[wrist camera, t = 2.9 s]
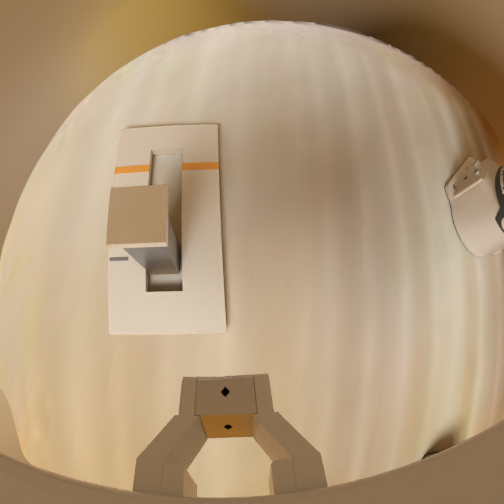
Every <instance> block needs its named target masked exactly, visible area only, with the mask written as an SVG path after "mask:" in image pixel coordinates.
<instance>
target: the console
mask: <svg viewBox="0 0 504 504" xmlns="http://www.w3.org/2000/svg"><path fill="white" fill-rule="evenodd" d="M169 154H183V159H182V203H181V239H182V283H183V291H165V292H148V271H147V270H146V269H145V268H143V267H142V266H141V265H140V264H139V263H138V262H137V261H136V260H135V259H134V258H133V257H132V256H131V255H129V254H128V253H127V252H126V251H125V250H124V249H123V248H116V249H111V248H110V247H109V253H108V318H109V335H174V334H204V333H224V332H227V328H226V313H225V296H224V279H223V260H222V239H221V216H220V189H219V155H218V124H196V125H169V126H153V127H140V128H128V129H122V130H121V136H120V142H119V148H118V155H117V162H116V167H115V177H114V186H113V188H116V187H129V186H145V185H150V184H151V170H152V158H153V155H169Z"/></svg>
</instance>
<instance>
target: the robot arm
mask: <svg viewBox="0 0 504 504" xmlns="http://www.w3.org/2000/svg"><path fill="white" fill-rule="evenodd" d="M445 190H446V193H447V196H448V198H449V201H450V204H451V209H452V216H453V220H454V224H455V227H456V230H457V232H458V234H459V236H460V238H461V240H462V242H463V243H464V245H465V246H466V247H467V249H468V250H469V251H470V252H471V253H473V254H474V255H476V256H478V257H485V256H487V255H489V254H494V255H498V254H500V253H501V252H502V249H503V248H504V166H501V165H499V164H498V163H497V162H495V161H494V160H492V159H486V160H484V161H482V162H480V161H479V160H476V159H474V158H472V157H469V158H467V159H466V160H465V162H464V163H463V164H462V165H461V167H460V168H459V169H458V171H457V172H456V173H455V174H454V176H453V177H452V178H451V179H450V181H449V182H448V183H447V184H446V186H445ZM228 437H254V439H255V440H256V441H257V443H258V444H259V445H260V446H261V448H262V449H263V450H264V451H265V453H266V454H267V455H268V456H269V457H270V459H271V460H272V461H273V463H272V464H271V469H270V477H269V491H270V495H267V496H253V497H230V498H205V497H197V485H196V483H195V482H194V481H193V479H192V478H191V476H190V475H189V473H188V472H187V469H188V467H189V466H190V464H191V463H192V461H193V460H194V458H195V457H196V456H197V454H198V453H199V451H200V450H201V448H202V447H203V445H204V444H205V442H206V441H207V438H228ZM0 504H504V419H503V420H501V421H500V422H498V423H496V424H495V425H493V426H491V427H489V428H488V429H486V430H484V431H482V432H480V433H478V434H477V435H475V436H473V437H471V438H469V439H467V440H465V441H463V442H461V443H459V444H457V445H455V446H452V447H450V448H448V449H446V450H444V451H441V452H439V453H437V454H434V455H432V456H429V457H427V458H424V459H422V460H419V461H417V462H414V463H411V464H409V465H406V466H403V467H400V468H397V469H394V470H391V471H388V472H385V473H381V474H378V475H375V476H371V477H367V478H364V479H360V480H356V481H352V482H348V483H343V484H339V485H334V486H329V487H328V486H327V481H326V476H325V472H324V467H323V463H322V458H321V453H319V452H318V451H317V450H316V449H315V448H314V447H313V446H312V445H311V444H310V443H309V442H308V441H307V440H306V439H305V438H304V437H303V436H302V435H301V434H300V433H299V432H297V431H296V430H295V429H294V428H293V427H292V426H291V425H290V424H289V423H288V422H287V421H286V420H285V419H284V418H283V417H282V416H281V415H280V414H279V412H274V410H273V403H272V396H271V389H270V381H269V376H268V374H257V375H253V374H252V375H238V376H225V377H183V380H182V386H181V396H180V407H179V415H175V416H174V417H173V418H172V419H171V420H170V421H169V423H168V424H167V425H166V426H165V427H164V428H163V429H162V431H161V432H160V433H159V434H158V435H157V436H156V437H155V438H154V440H153V441H152V442H151V443H150V444H149V445H148V446H147V447H146V449H145V450H144V451H143V452H142V453H141V454H140V455H139V456H138V457H137V461H136V468H135V476H134V484H133V491H128V490H122V489H117V488H112V487H107V486H102V485H97V484H93V483H89V482H85V481H81V480H77V479H73V478H70V477H66V476H63V475H60V474H56V473H53V472H50V471H47V470H44V469H41V468H38V467H36V466H33V465H30V464H28V463H25V462H22V461H20V460H17V459H15V458H13V457H10V456H8V455H6V454H3V453H1V452H0Z"/></svg>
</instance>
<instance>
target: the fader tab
mask: <svg viewBox="0 0 504 504" xmlns="http://www.w3.org/2000/svg"><path fill="white" fill-rule="evenodd" d="M168 200H169V190H168V186H167V184H164V185H145V186H129V187H116V188H111V192H110V201H109V212H108V225H107V242H106V245H107V246H109V247H110V248H111V249H116V248H123V249H124V250H125V251H126V252H127V253H128V254H129V255H131V256H132V257H133V258H134V259H135V260H136V261H137V262H138V263H139V264H140V265H141V266H142V267H143V268H145V269H146V270H147V271H148V272H149V273H150V274H151V275H152V274H179V245H178V242H177V239H176V236H175V233H174V230H173V227H172V224H171V221H170V218H169V215H168Z"/></svg>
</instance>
